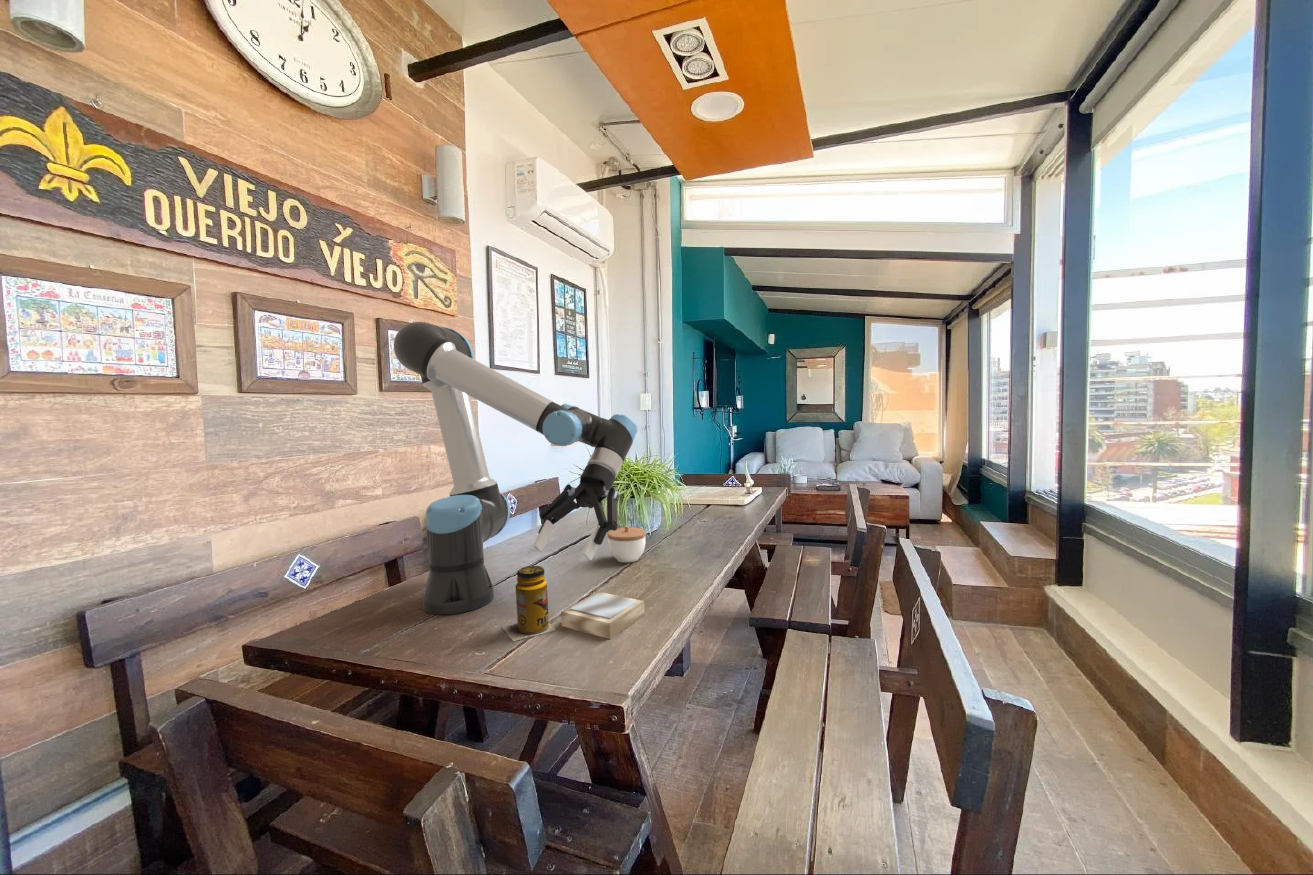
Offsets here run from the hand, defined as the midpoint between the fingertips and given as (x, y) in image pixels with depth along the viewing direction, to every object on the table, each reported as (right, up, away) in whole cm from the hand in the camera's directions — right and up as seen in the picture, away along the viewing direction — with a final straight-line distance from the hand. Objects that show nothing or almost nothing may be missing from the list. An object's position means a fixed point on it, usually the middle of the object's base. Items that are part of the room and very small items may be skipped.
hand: (561, 553), depth 108 cm
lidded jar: (+12, -10, +37) cm, 40 cm away
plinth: (+9, -13, -4) cm, 16 cm away
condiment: (-5, -14, -6) cm, 16 cm away
